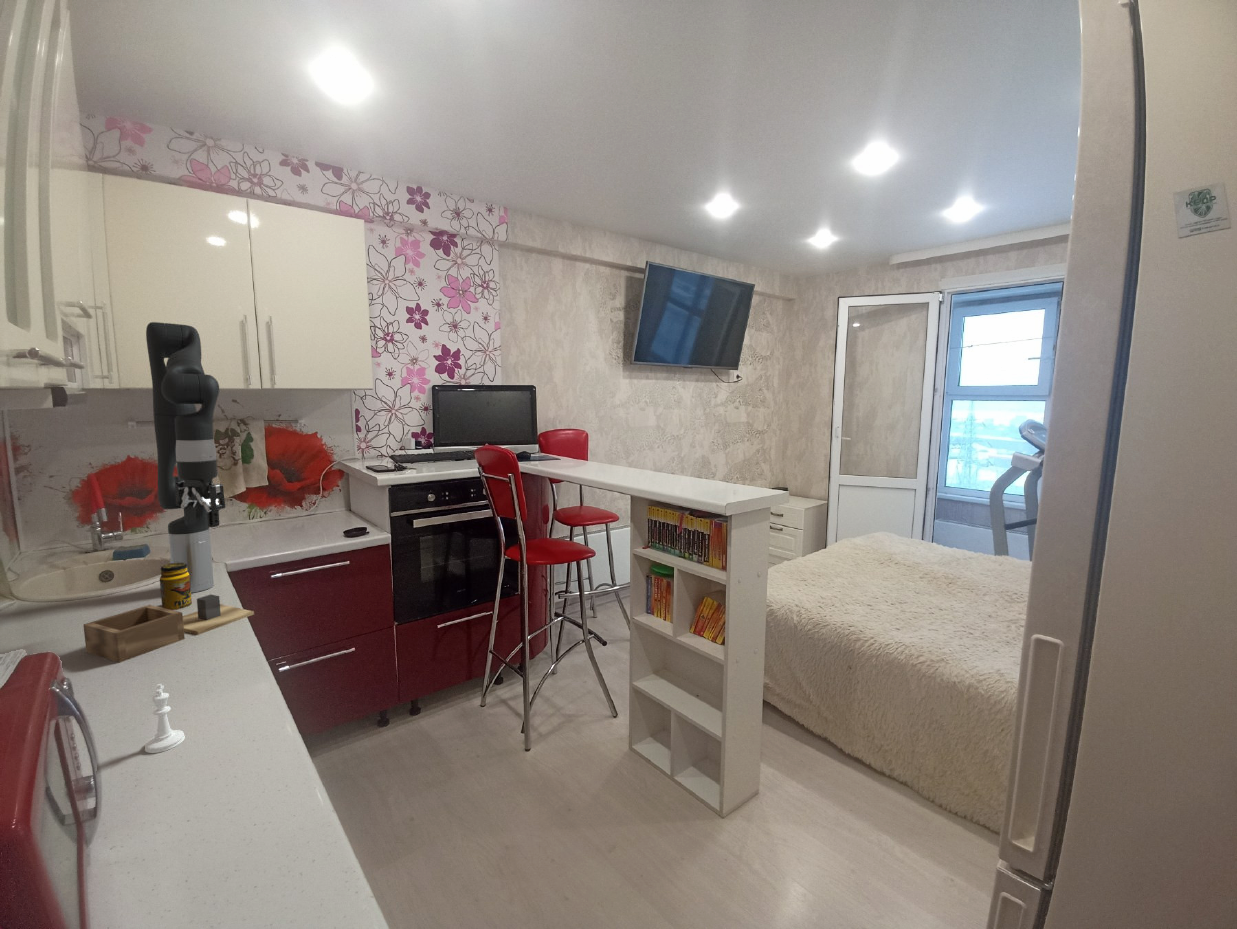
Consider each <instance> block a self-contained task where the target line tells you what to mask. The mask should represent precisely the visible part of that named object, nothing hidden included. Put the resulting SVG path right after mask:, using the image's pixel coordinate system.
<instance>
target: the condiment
mask: <svg viewBox="0 0 1237 929" xmlns="http://www.w3.org/2000/svg"><path fill="white" fill-rule="evenodd" d="M159 584H160V596H161V597H160V598H161V608H165V609H169V610H174V611H177V610H181V609H184V608H187V607H190V606H191V605H192V604H193V601H192V600H193V599H192V593H191V588H190V575H189V573H188V572H187V564H186V563H181V562H180V563H171V564H170V563H167V564H164V565H162V566H161V567H160V577H159Z"/></svg>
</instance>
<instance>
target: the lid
mask: <svg viewBox="0 0 1237 929" xmlns="http://www.w3.org/2000/svg"><path fill="white" fill-rule="evenodd" d="M196 606H197V607H196V608H197V609H196V610H197V611H195V612H191V613H188V614H185V615H183V625H184V633H185V632H186V633H188V634H189V633H190V634H194V635H198V636H199V635H201V634H204V633H207V632H209V631H213V630H215V629H218V628H220V627H223V626H227V625H228V624H231V623H235V622H237V621H240V620H243V619H246V618H248V617H250V616H253V615H255V611H254V610H249V609H244V608H241V607H240V608H239V607H235V606H230V605H226V604H222V603H221V602H220V595H215V594H208V595H205V596H201V597H198V598H196Z"/></svg>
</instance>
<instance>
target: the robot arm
mask: <svg viewBox="0 0 1237 929" xmlns="http://www.w3.org/2000/svg"><path fill="white" fill-rule="evenodd" d="M145 336H146V337H145V338H146V348H147V354H148V359H149V360H148V361H149V368H150V376H151V384H152V410H153V425H154V433H155V434H154V435H155V442H156V452H157V453H156V454H157V498H158V503H159V505H160V507H161V508H162V509H163V510H176V509H177V510H179V509H182V510H183V516H182V517H181V516H180V517H179V518H177V519H174V520H173V521H171V522H169V523H168V526H167V532H168V541H169V542H168V543H169V554H170V558H169V564H171V563H180V562H181V563H186V564H187V572H188V573H189V575H190V588H191V594H192V593H197V592H202V591H205V590H208V589H210V588H213V587H214V585H215V583H214V581H215V580H214V570H213V558H212V545H211V532H210V528H217V527H219V526H220V515H219V514H220V511H221V510H222V509H226V500H225V490H224V485H223V483H216V484H214V482H213V479H214V478H217V477H218V476H219V474H218V473H219V472H218V462H217V461H218V460H217V459H218V458H217V449H216V444H215V438H214V426H213V425H214V424H213V422H214V412H215V408H216V404H217V402H218V397H219V394H220V385H219V382H218V380H217V379H216V378H215V377H214V376H212V375H210V374H205V371H204V368H203V365H202V343H201V337H200V334H199V332H198V330H197V329H196V328H195V327H194V326H192V325H187V324H179V323H170V322H169V323H168V322H159V321H158V322H157V321H152V322H149V323H148V324H147V326H146V331H145ZM165 359H167V360H166V363H165ZM196 405H201V406H200V408H199V409H198V410H197V407H196ZM175 467H176V470H177V471H176V472H177V475H174V470H175ZM218 501H219V502H218Z"/></svg>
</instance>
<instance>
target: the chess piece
mask: <svg viewBox="0 0 1237 929" xmlns="http://www.w3.org/2000/svg"><path fill="white" fill-rule="evenodd" d="M156 687H157V689H156V691H155V693H156V694H155V695H154V696H153V697H152V702H153V704H154V705H155V707H156V709H154V710H153V713H152V715H154V716H158V718H157V719H158V721H157V722H158V724H157V732H156V734H155V735H154V736H152V737H151V738H150V739H148V740H147V741H146V743H145V744H144V751H145V753H149V754H157V753H158V754H159V753H162V752H166V751H169V750H171V749H173V748H176V747H177V746H179V745H180V744H181V743H183V741H184V740H185V739H186V736H185V733H184V731H183V730H181V729H172V728H171V725H170V723H169V718H168V714H167V713H168V712H170V711H171V709H172V708H171V707H170V705H167V704H168V699H169V696H170V694H169V692H163V689H165V685H163V684H162V683H159V684H157V686H156Z"/></svg>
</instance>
